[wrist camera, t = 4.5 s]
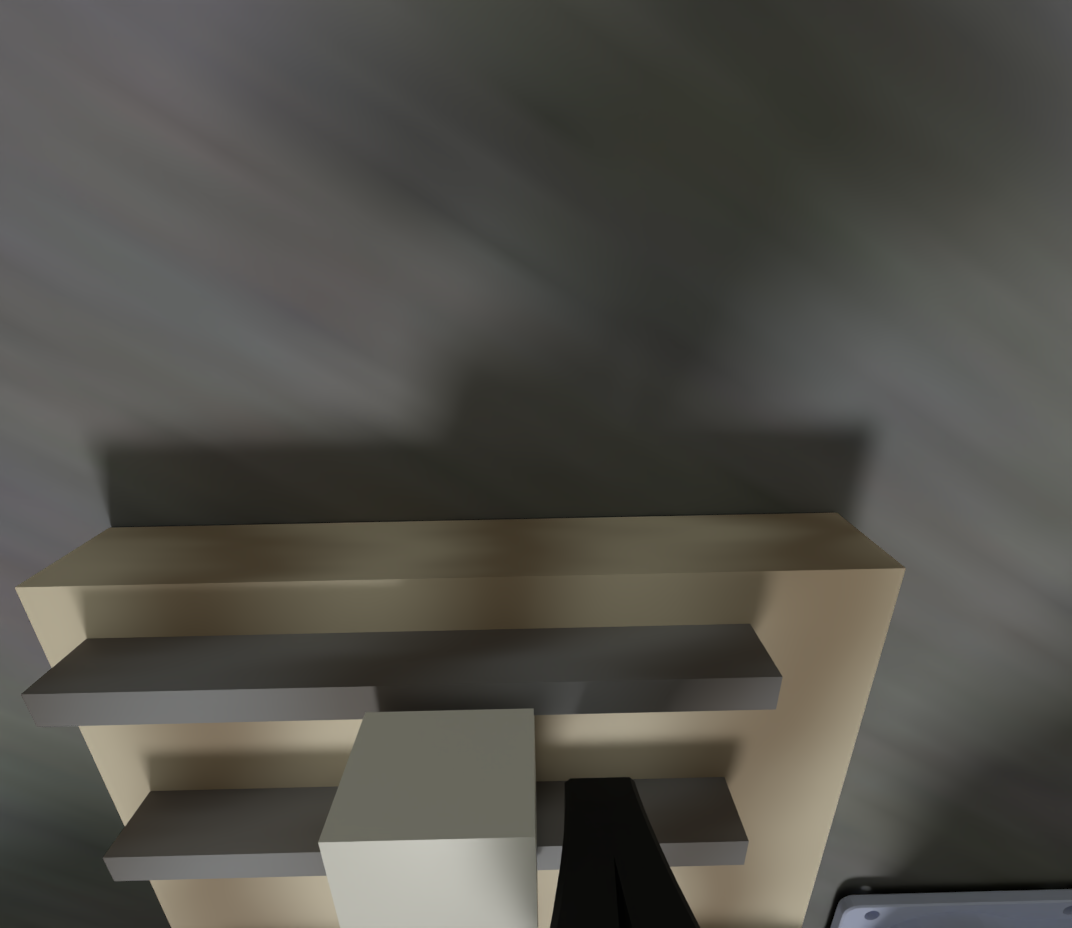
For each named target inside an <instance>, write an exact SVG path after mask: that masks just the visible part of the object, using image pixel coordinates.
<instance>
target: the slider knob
mask: <svg viewBox="0 0 1072 928" xmlns="http://www.w3.org/2000/svg"><path fill="white" fill-rule="evenodd" d="M318 844H319V848H320V852H321V856H322V860H323V864H324V867H325V871H326V875H327V879H328V883H329V887H330V891H331V894H332V898H333V902H334V906H335V910H336V914H337V918H338V921H339V925H340V928H538V875H537V820H536V760H535V716H534V708H528V709H486V710H444V711H401V712H365V714H364V717H363V720H362V723H361V725H360V728H359V731H358V734H357V737H356V739H355V742H354V745H353V748H352V750H351V753H350V756H349V759H348V761H347V764H346V767H345V770H344V772H343V775H342V778H341V781H340V783H339V786H338V789H337V792H336V794H335V797H334V800H333V803H332V805H331V808H330V811H329V814H328V816H327V819H326V822H325V825H324V827H323V830H322V833H321V836H320V839H319V841H318Z"/></svg>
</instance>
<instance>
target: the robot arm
mask: <svg viewBox="0 0 1072 928" xmlns="http://www.w3.org/2000/svg"><path fill="white" fill-rule="evenodd" d="M550 928H700V926H699V924H698V922H697V920H696V918H695V916H694V914H693V912H692V910H691V908H690V906H689V904H688V902H687V900H686V898H685V896H684V894H683V892H682V890H681V888H680V886H679V884H678V882H677V880H676V878H675V876H674V874H673V872H672V870H671V868H670V866H669V864H668V862H667V859H666V857H665V855H664V853H663V851H662V848H661V846H660V844H659V842H658V840H657V837H656V835H655V833H654V830H653V828H652V826H651V823H650V821H649V819H648V816H647V814H646V811H645V809H644V806H643V803H642V801H641V798H640V796H639V793H638V790H637V787H636V784H635V781H634V780H632V779H631V778H630V777H607V778H570V779H569V780H568V781H566V782H565V783H564V836H563V845H562V854H561V863H560V870H559V876H558V882H557V888H556V894H555V901H554V907H553V913H552V919H551V924H550ZM830 928H1072V889H1049V890H1011V891H973V892H936V893H898V894H860V895H848V896H846V897H844V898H842V899H841V900H840V901H839V903H838V906H837V909H836V912H835V915H834V918H833V921H832V924H831V927H830Z"/></svg>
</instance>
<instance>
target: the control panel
mask: <svg viewBox="0 0 1072 928" xmlns="http://www.w3.org/2000/svg"><path fill="white" fill-rule="evenodd" d="M905 569H906V568H905V567H904V566H902V565H901V564H900V563H899V562H897V561H896V560H895V559H894V558H892V557H891V556H890V555H889V554H887V553H886V552H885V551H884V550H882V549H881V548H880V547H879V546H878V545H876V544H875V543H874V542H873V541H871V540H870V539H869V538H868V537H866V536H865V535H864V534H863V533H861V532H860V531H859V530H858V529H856V528H855V527H854V526H853V525H851V524H850V523H849V522H848V521H847V520H845V519H844V518H843V517H842V516H840V515H839V514H838V513H792V514H743V515H695V516H647V517H599V518H550V519H502V520H454V521H406V522H357V523H309V524H261V525H212V526H164V527H116V528H108V529H107V530H105V531H103V532H102V533H100V534H99V535H97V536H96V537H94V538H92V539H91V540H89V541H88V542H86V543H84V544H83V545H81V546H80V547H78V548H76V549H75V550H73V551H72V552H70V553H69V554H67V555H65V556H64V557H62V558H61V559H59V560H57V561H56V562H54V563H53V564H51V565H50V566H48V567H46V568H45V569H43V570H42V571H40V572H38V573H37V574H35V575H34V576H32V577H31V578H29V579H27V580H26V581H24V582H23V583H21V584H19V585H18V586H16V587H15V589H16V591H17V593H18V596H19V598H20V600H21V602H22V604H23V606H24V609H25V611H26V613H27V615H28V617H29V620H30V622H31V624H32V626H33V628H34V630H35V633H36V635H37V637H38V639H39V641H40V643H41V646H42V648H43V650H44V652H45V654H46V656H47V659H48V661H49V663H50V665H51V667H52V668H51V669H50V670H49V671H48V672H47V673H45V674H44V675H43V676H42V677H41V678H40V679H38V680H37V681H36V682H35V683H34V684H33V685H31V686H30V687H29V688H28V689H27V690H25V691H24V692H23V693H22V694H21V696H22V698H23V700H24V702H25V704H26V706H27V708H28V710H29V712H30V714H31V716H32V718H33V720H34V722H35V724H36V726H37V727H57V726H79V728H80V730H81V732H82V735H83V737H84V739H85V741H86V743H87V745H88V748H89V750H90V752H91V754H92V756H93V759H94V761H95V763H96V765H97V767H98V769H99V772H100V774H101V776H102V778H103V780H104V782H105V785H106V787H107V789H108V791H109V793H110V795H111V798H112V800H113V802H114V804H115V806H116V808H117V811H118V813H119V815H120V817H121V819H122V822H123V824H124V826H125V827H124V829H123V830H122V831H121V833H120V834H119V835H118V837H117V838H116V840H115V841H114V842H113V844H112V845H111V847H110V848H109V849H108V851H107V852H106V854H105V855H104V856H103V860H104V862H105V864H106V866H107V868H108V870H109V872H110V874H111V876H112V878H113V880H114V881H142V880H150V882H151V885H152V887H153V889H154V891H155V893H156V895H157V898H158V900H159V902H160V904H161V906H162V908H163V911H164V913H165V915H166V917H167V919H168V921H169V924H170V926H171V928H340V925H339V921H338V918H337V914H336V910H335V906H334V902H333V898H332V894H331V891H330V887H329V883H328V879H327V875H326V871H325V867H324V864H323V860H322V856H321V852H320V848H319V844H318V841H319V839H320V836H321V833H322V830H323V827H324V825H325V822H326V819H327V816H328V814H329V811H330V808H331V805H332V803H333V800H334V797H335V794H336V792H337V789H338V786H339V783H340V781H341V778H342V775H343V772H344V770H345V767H346V764H347V761H348V759H349V756H350V753H351V750H352V748H353V745H354V742H355V739H356V737H357V734H358V731H359V728H360V725H361V723H362V720H363V717H364V714H365V712H401V711H444V710H486V709H528V708H534V716H535V760H536V820H537V875H538V928H550V924H551V919H552V913H553V907H554V901H555V894H556V888H557V882H558V876H559V870H560V863H561V854H562V845H563V836H564V783H565V782H566V781H568V780H569V779H570V778H607V777H630V778H631V779H632V780H634V781H635V784H636V787H637V790H638V793H639V796H640V798H641V801H642V803H643V806H644V809H645V811H646V814H647V816H648V819H649V821H650V823H651V826H652V828H653V830H654V833H655V835H656V837H657V840H658V842H659V844H660V846H661V848H662V851H663V853H664V855H665V857H666V859H667V862H668V864H669V866H670V868H671V870H672V872H673V874H674V876H675V878H676V880H677V882H678V884H679V886H680V888H681V890H682V892H683V894H684V896H685V898H686V900H687V902H688V904H689V906H690V908H691V910H692V912H693V914H694V916H695V918H696V920H697V922H698V924H699V926H700V928H802V924H803V921H804V917H805V914H806V910H807V907H808V903H809V900H810V897H811V893H812V890H813V886H814V883H815V879H816V876H817V872H818V869H819V866H820V862H821V859H822V855H823V852H824V848H825V845H826V841H827V838H828V834H829V831H830V828H831V824H832V821H833V817H834V814H835V810H836V807H837V803H838V800H839V797H840V793H841V790H842V786H843V783H844V779H845V776H846V772H847V769H848V765H849V762H850V759H851V755H852V752H853V748H854V745H855V741H856V738H857V734H858V731H859V728H860V724H861V721H862V717H863V714H864V710H865V707H866V703H867V700H868V697H869V693H870V690H871V686H872V683H873V679H874V676H875V672H876V669H877V665H878V662H879V659H880V655H881V652H882V648H883V645H884V641H885V638H886V634H887V631H888V628H889V624H890V621H891V617H892V614H893V610H894V607H895V603H896V600H897V596H898V593H899V590H900V586H901V583H902V579H903V576H904V572H905Z"/></svg>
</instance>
